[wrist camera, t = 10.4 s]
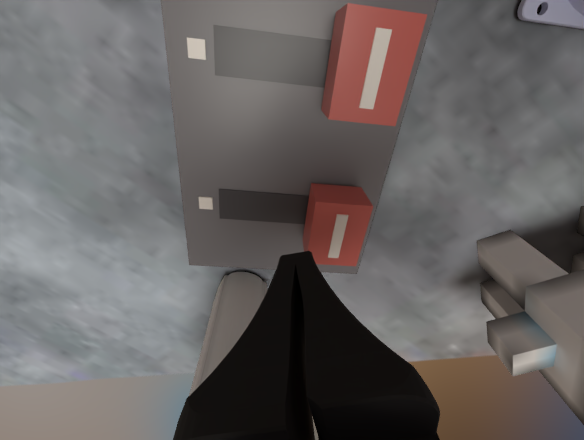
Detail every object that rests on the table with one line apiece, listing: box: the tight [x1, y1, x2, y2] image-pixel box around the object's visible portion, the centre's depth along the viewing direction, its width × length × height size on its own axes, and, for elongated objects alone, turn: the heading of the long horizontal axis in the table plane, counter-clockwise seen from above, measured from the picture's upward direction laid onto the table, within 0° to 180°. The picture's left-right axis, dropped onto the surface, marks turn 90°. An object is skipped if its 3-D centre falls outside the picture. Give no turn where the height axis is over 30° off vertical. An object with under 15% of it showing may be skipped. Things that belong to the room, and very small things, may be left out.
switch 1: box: [303, 183, 373, 266], centre depth 16 cm, size 3×4×2 cm
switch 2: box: [321, 3, 427, 126], centre depth 12 cm, size 3×4×2 cm
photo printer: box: [189, 272, 267, 396], centre depth 19 cm, size 10×4×12 cm, turn 164°
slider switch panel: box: [161, 0, 438, 274], centre depth 14 cm, size 12×26×2 cm, turn 174°
